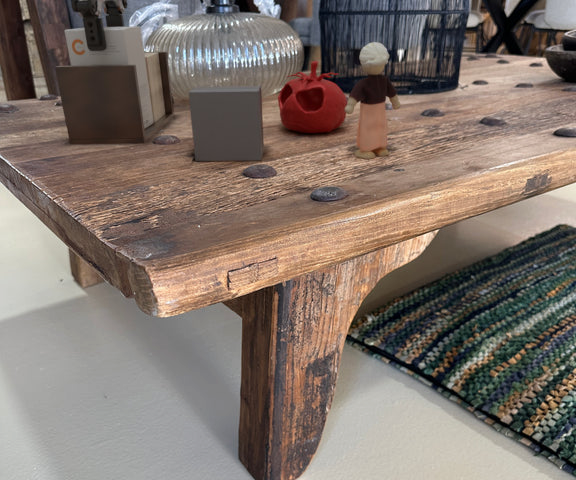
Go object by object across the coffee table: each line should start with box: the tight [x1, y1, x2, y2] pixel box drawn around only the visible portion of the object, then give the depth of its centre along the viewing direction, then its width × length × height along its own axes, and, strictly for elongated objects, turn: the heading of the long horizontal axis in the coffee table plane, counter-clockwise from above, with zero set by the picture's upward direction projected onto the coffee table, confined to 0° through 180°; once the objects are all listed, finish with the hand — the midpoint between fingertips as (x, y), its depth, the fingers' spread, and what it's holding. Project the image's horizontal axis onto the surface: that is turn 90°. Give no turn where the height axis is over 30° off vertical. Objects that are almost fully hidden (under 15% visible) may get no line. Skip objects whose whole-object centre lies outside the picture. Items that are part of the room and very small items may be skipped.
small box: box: [64, 25, 154, 129], centre depth 78 cm, size 8×6×13 cm
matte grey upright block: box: [188, 85, 265, 162], centre depth 68 cm, size 8×4×8 cm, turn 88°
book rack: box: [54, 51, 175, 145], centre depth 81 cm, size 10×18×10 cm, turn 178°
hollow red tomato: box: [277, 60, 348, 134], centre depth 81 cm, size 10×10×9 cm
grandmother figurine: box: [345, 41, 402, 160], centre depth 66 cm, size 8×4×13 cm, turn 131°
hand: (108, 47), depth 76 cm, fingers open, 8 cm apart
